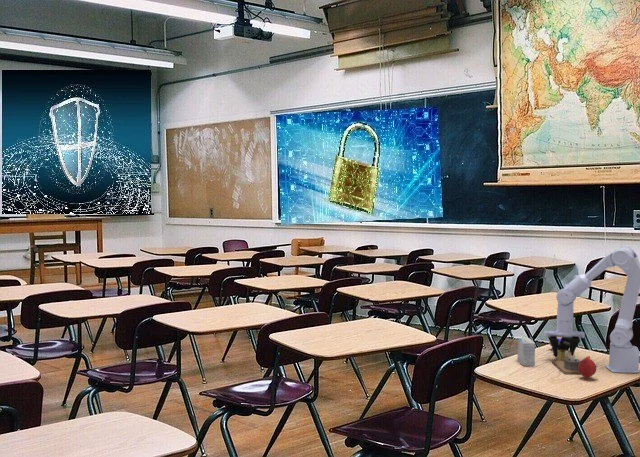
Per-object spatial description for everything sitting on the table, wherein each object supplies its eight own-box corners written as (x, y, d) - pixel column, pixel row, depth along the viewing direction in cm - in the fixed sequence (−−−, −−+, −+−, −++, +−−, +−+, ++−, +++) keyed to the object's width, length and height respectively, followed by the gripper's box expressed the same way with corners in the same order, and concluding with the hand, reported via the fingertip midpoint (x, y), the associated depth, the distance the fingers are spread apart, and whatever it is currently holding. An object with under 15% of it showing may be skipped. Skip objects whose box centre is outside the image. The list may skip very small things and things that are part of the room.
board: (579, 363, 273) (580, 349, 273) (592, 374, 259) (593, 359, 259) (552, 363, 273) (552, 348, 273) (564, 374, 259) (565, 358, 259)
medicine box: (534, 366, 268) (535, 343, 267) (522, 366, 268) (523, 342, 267) (528, 360, 276) (530, 337, 275) (516, 360, 276) (518, 337, 275)
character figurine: (555, 359, 280) (548, 349, 295) (575, 359, 279) (567, 349, 294) (554, 339, 279) (547, 330, 294) (574, 338, 278) (566, 329, 293)
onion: (586, 381, 251) (588, 358, 250) (573, 377, 256) (575, 354, 255) (599, 379, 253) (600, 357, 253) (586, 375, 258) (587, 352, 258)
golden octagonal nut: (569, 359, 278) (569, 349, 278) (571, 362, 273) (572, 353, 273) (555, 358, 279) (555, 349, 279) (557, 361, 274) (557, 352, 274)
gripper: (580, 318, 279) (579, 353, 280) (542, 317, 279) (540, 353, 280) (587, 322, 272) (585, 358, 273) (547, 321, 272) (546, 358, 273)
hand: (563, 356), depth 276 cm, fingers closed on golden octagonal nut, 5 cm apart
